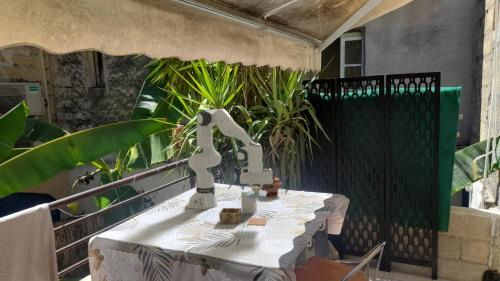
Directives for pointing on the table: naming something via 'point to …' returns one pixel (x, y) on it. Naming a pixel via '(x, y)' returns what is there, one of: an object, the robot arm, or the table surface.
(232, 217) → the walnut box
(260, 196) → the lid
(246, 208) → the supplement box
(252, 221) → the coaster
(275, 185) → the decorative planter
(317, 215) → the table surface
